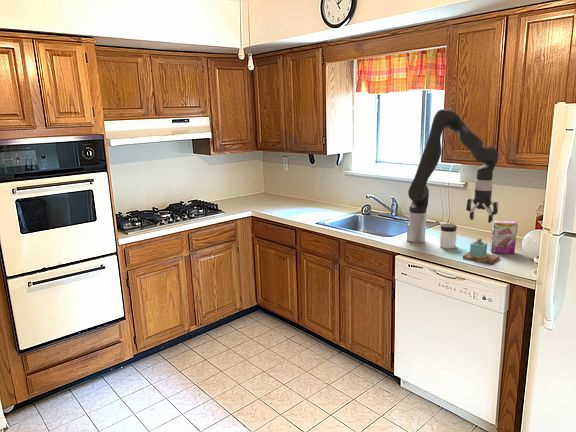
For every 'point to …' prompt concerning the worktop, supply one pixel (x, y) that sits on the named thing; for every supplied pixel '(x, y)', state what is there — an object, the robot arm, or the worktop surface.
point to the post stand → (485, 259)
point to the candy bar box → (503, 237)
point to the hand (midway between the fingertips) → (480, 220)
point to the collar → (478, 249)
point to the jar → (448, 236)
